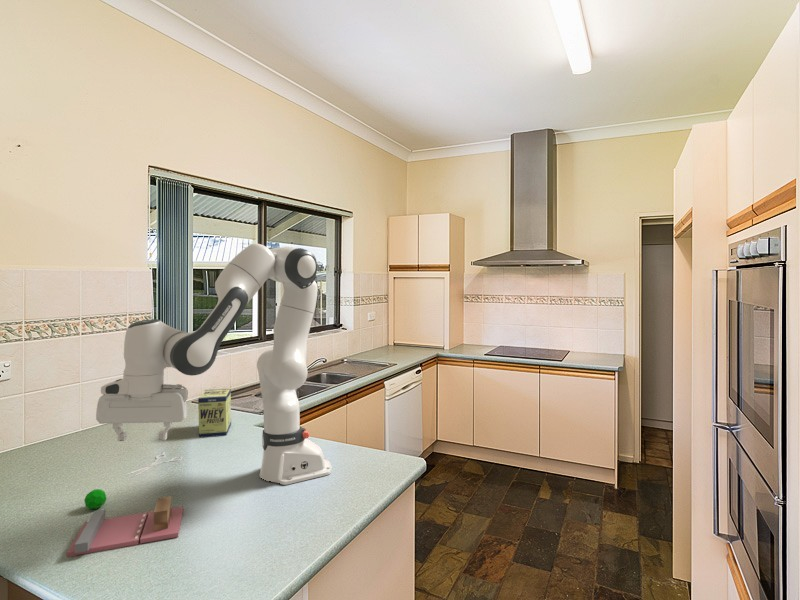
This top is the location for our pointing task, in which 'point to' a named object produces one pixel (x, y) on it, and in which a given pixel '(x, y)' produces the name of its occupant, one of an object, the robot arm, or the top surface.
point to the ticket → (108, 533)
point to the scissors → (155, 463)
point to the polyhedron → (95, 499)
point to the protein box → (214, 412)
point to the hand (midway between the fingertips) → (142, 439)
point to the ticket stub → (162, 521)
